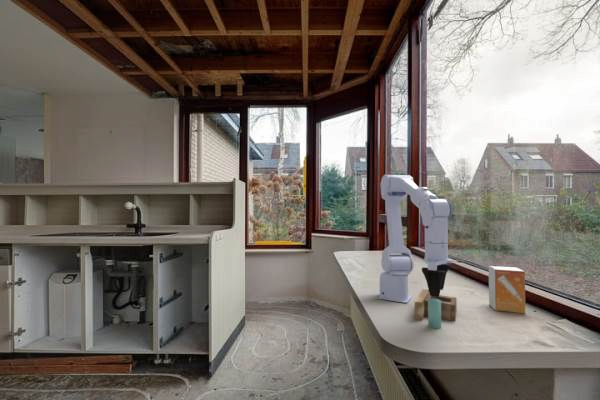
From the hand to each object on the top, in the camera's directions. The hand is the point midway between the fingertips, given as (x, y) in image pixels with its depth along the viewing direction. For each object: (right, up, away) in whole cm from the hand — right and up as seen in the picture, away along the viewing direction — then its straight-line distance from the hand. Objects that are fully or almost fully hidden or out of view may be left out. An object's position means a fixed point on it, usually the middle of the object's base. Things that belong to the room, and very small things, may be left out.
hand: (436, 292), depth 77 cm
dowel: (-1, -9, -1) cm, 9 cm away
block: (+5, -9, +8) cm, 14 cm away
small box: (+29, -10, +13) cm, 33 cm away
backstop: (+1, -9, +10) cm, 14 cm away
